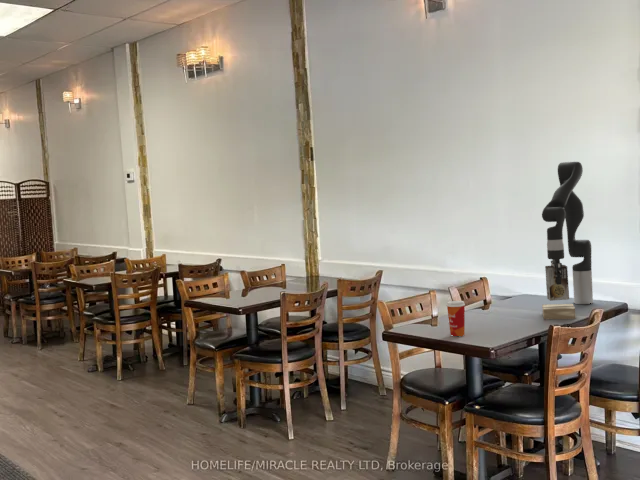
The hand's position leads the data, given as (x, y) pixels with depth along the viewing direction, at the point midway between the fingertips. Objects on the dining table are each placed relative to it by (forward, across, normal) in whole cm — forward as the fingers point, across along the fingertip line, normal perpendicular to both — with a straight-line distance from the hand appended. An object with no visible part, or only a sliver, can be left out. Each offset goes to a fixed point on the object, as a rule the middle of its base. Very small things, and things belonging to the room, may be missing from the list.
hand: (557, 283), depth 318 cm
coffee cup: (+16, -33, +50) cm, 62 cm away
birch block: (+16, 0, 0) cm, 16 cm away
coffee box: (+8, 0, 0) cm, 8 cm away
